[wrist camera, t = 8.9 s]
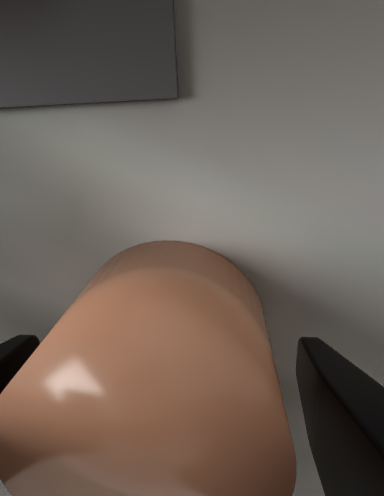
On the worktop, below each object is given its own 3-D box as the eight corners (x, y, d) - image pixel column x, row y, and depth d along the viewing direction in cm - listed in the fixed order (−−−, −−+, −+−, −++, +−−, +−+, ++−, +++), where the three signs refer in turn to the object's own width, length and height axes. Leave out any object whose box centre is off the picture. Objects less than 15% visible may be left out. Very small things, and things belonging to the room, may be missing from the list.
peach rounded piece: (261, 396, 10) (287, 572, 6) (97, 393, 10) (25, 555, 6) (266, 238, 8) (307, 342, 4) (69, 241, 8) (-50, 339, 5)
